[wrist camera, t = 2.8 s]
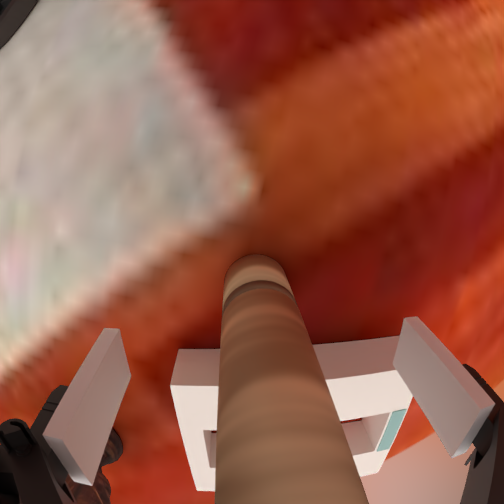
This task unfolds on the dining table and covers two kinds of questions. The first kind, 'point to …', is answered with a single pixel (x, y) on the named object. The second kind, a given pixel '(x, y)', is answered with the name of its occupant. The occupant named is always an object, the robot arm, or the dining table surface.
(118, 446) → the mortar and pestle
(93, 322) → the dining table surface
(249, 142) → the dining table surface
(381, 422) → the board
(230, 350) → the leg peg
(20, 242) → the dining table surface
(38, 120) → the dining table surface
